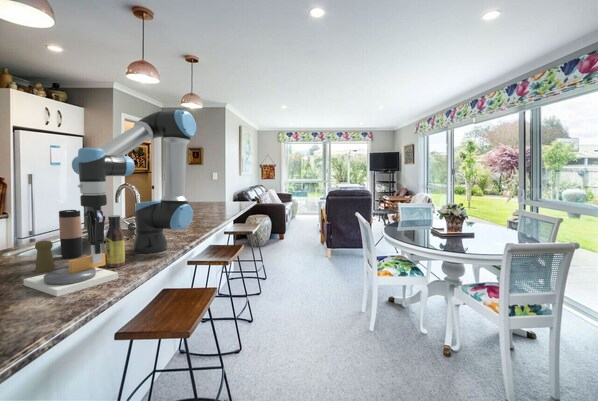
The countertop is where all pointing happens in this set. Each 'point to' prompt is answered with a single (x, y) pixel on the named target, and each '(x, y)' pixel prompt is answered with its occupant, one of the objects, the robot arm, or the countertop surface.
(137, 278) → the countertop surface
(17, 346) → the countertop surface
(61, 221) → the travel mug
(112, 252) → the sauce bottle
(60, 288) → the dial base
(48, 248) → the olive pepper mill
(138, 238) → the robot arm
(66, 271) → the dial
